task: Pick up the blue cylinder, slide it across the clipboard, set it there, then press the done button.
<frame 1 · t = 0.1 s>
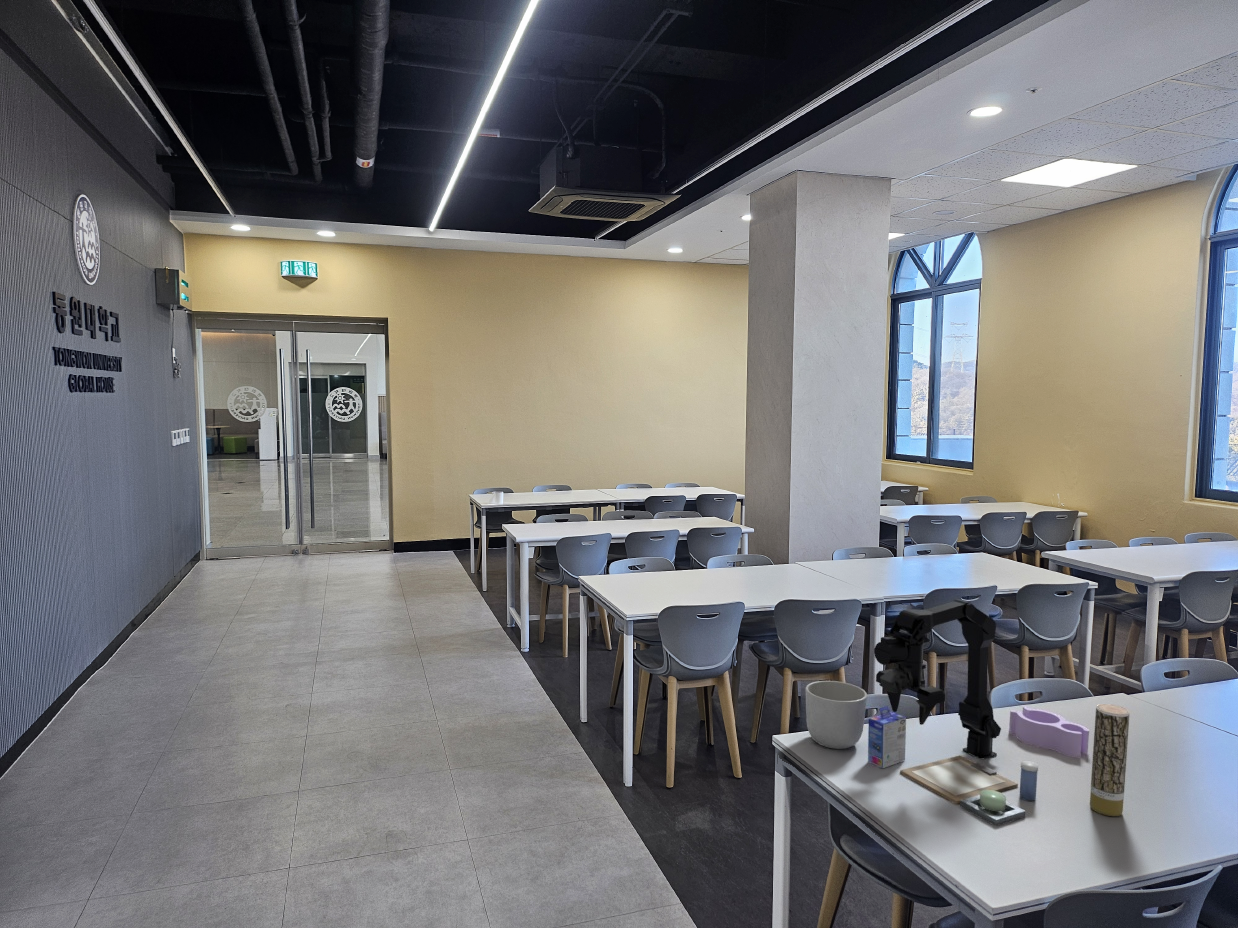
hand: (907, 717, 208), 15 cm above the table, fingers open, 9 cm apart
clipboard: (958, 779, 205), on the table
ink cartridge box: (885, 761, 216), on the table
clip: (1048, 743, 230), on the table
done button: (992, 800, 189), point 3 cm above the table, slide at 0.0 cm
paper tube: (1105, 811, 191), on the table
button bezel: (992, 811, 189), on the table
blue cylinder: (1027, 797, 196), on the table
planter: (833, 743, 227), on the table
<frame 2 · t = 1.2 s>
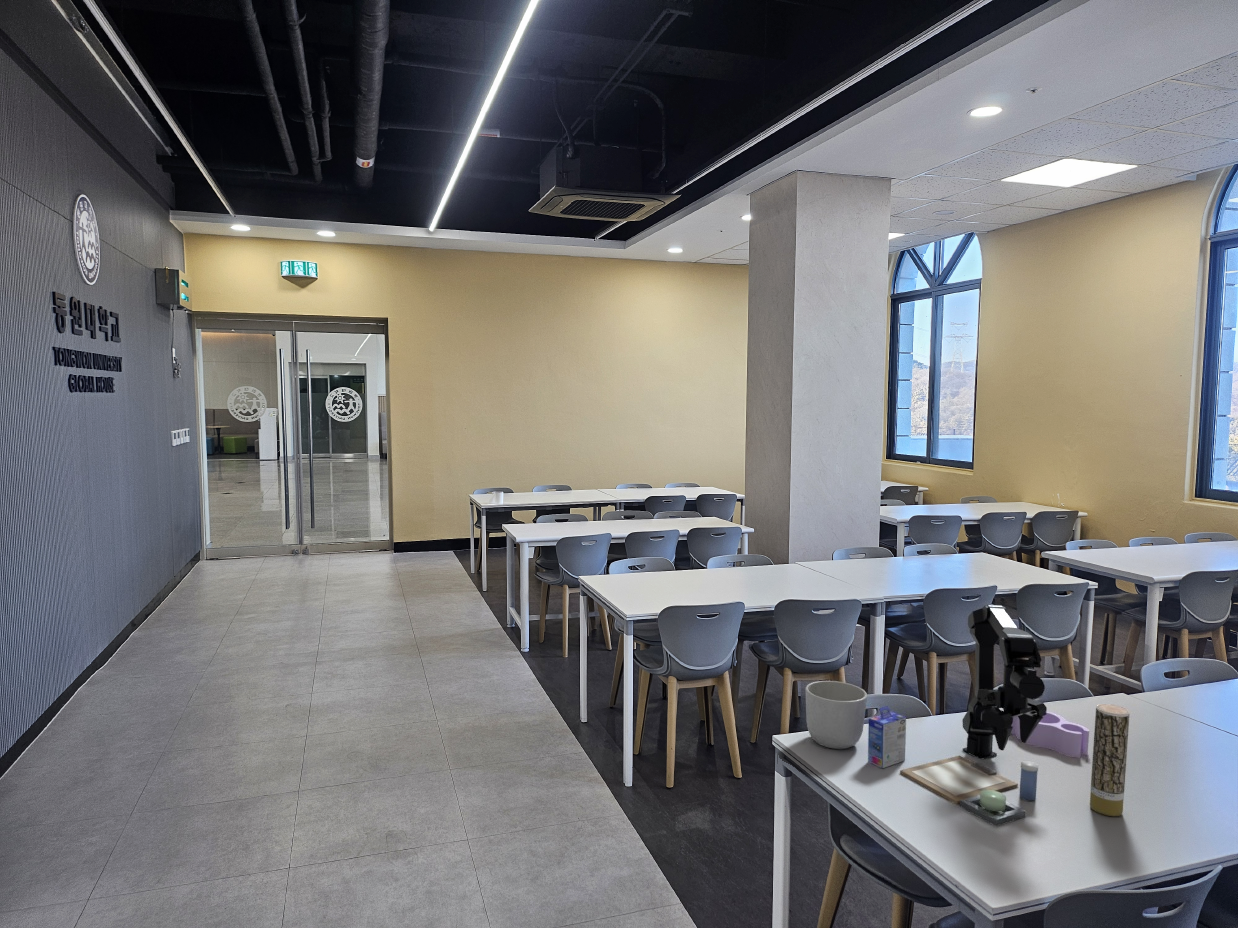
hand: (1012, 745, 197), 12 cm above the table, fingers open, 9 cm apart
nothing on the table moved.
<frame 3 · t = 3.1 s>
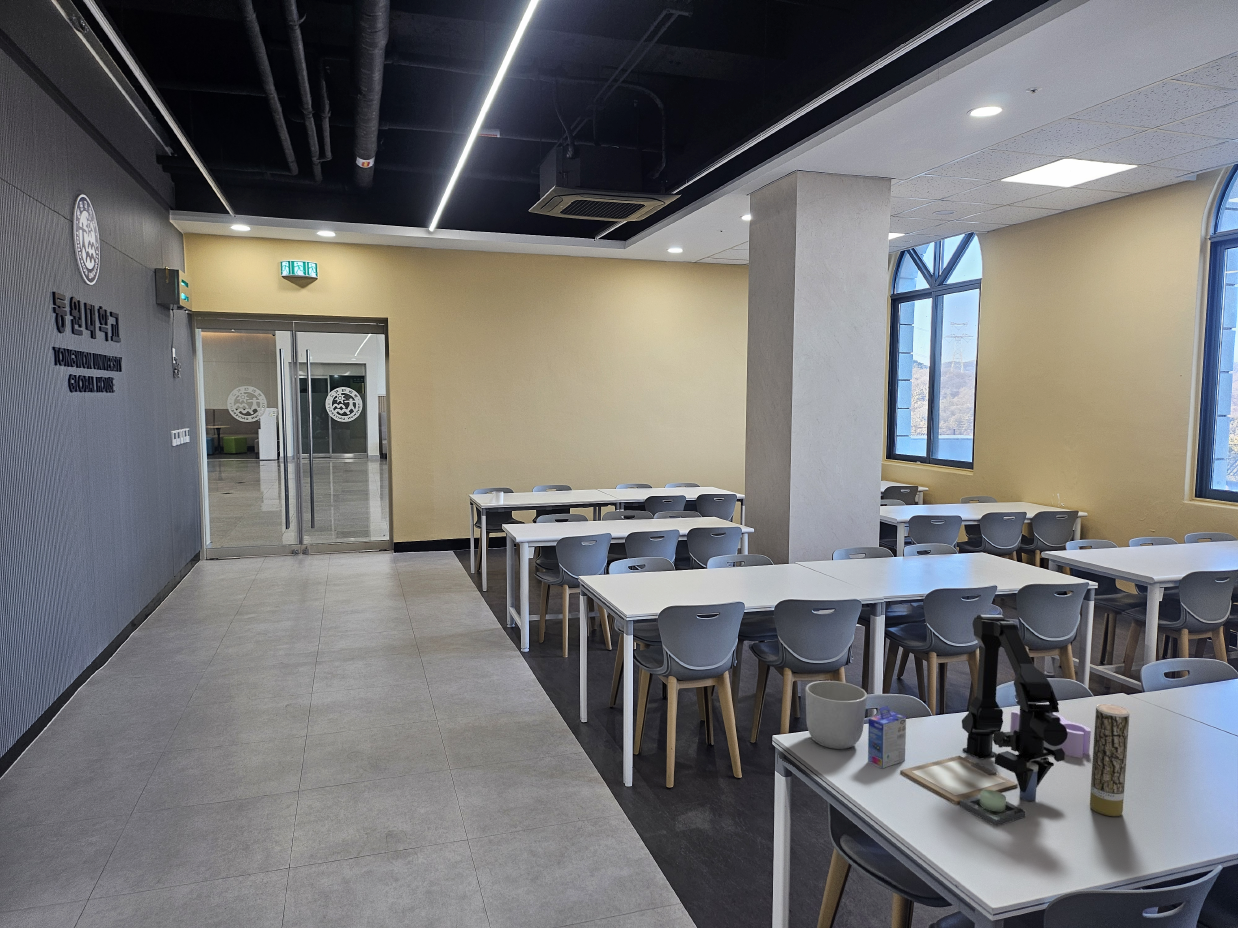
hand: (1027, 789, 196), 2 cm above the table, fingers closed on blue cylinder, 4 cm apart
blue cylinder: (1027, 797, 196), on the table, touching gripper
everything else where it was.
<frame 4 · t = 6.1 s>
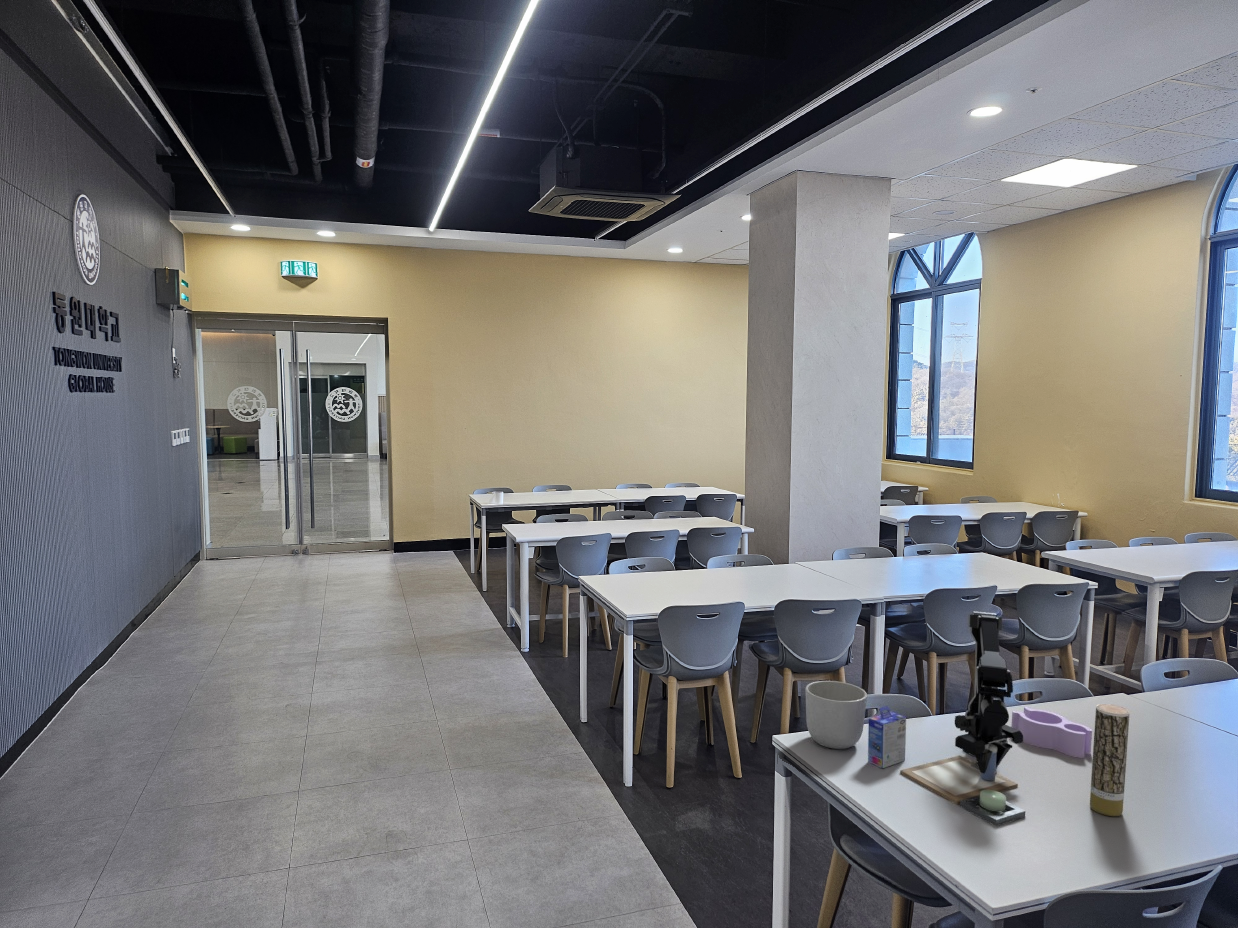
hand: (987, 771, 204), 3 cm above the table, fingers closed on blue cylinder, 4 cm apart
blue cylinder: (987, 778, 204), point 1 cm above the table, touching clipboard, gripper
everything else where it was.
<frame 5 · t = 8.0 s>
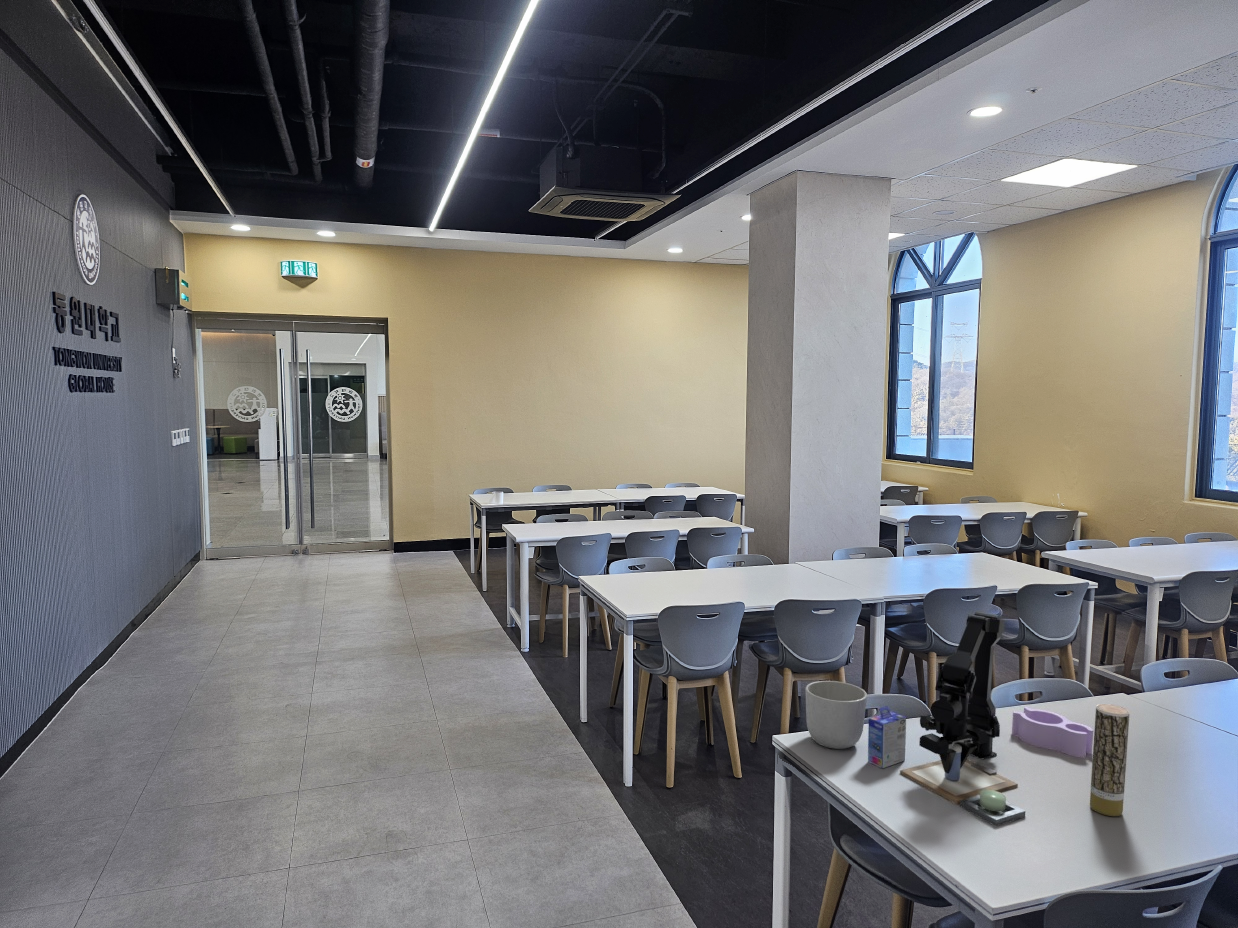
hand: (952, 771, 204), 3 cm above the table, fingers closed on blue cylinder, 4 cm apart
blue cylinder: (952, 778, 204), point 1 cm above the table, touching gripper
everything else where it was.
when the fingers open (3 cm above the table, at t = 9.1 s): blue cylinder stays where it is, resting on clipboard.
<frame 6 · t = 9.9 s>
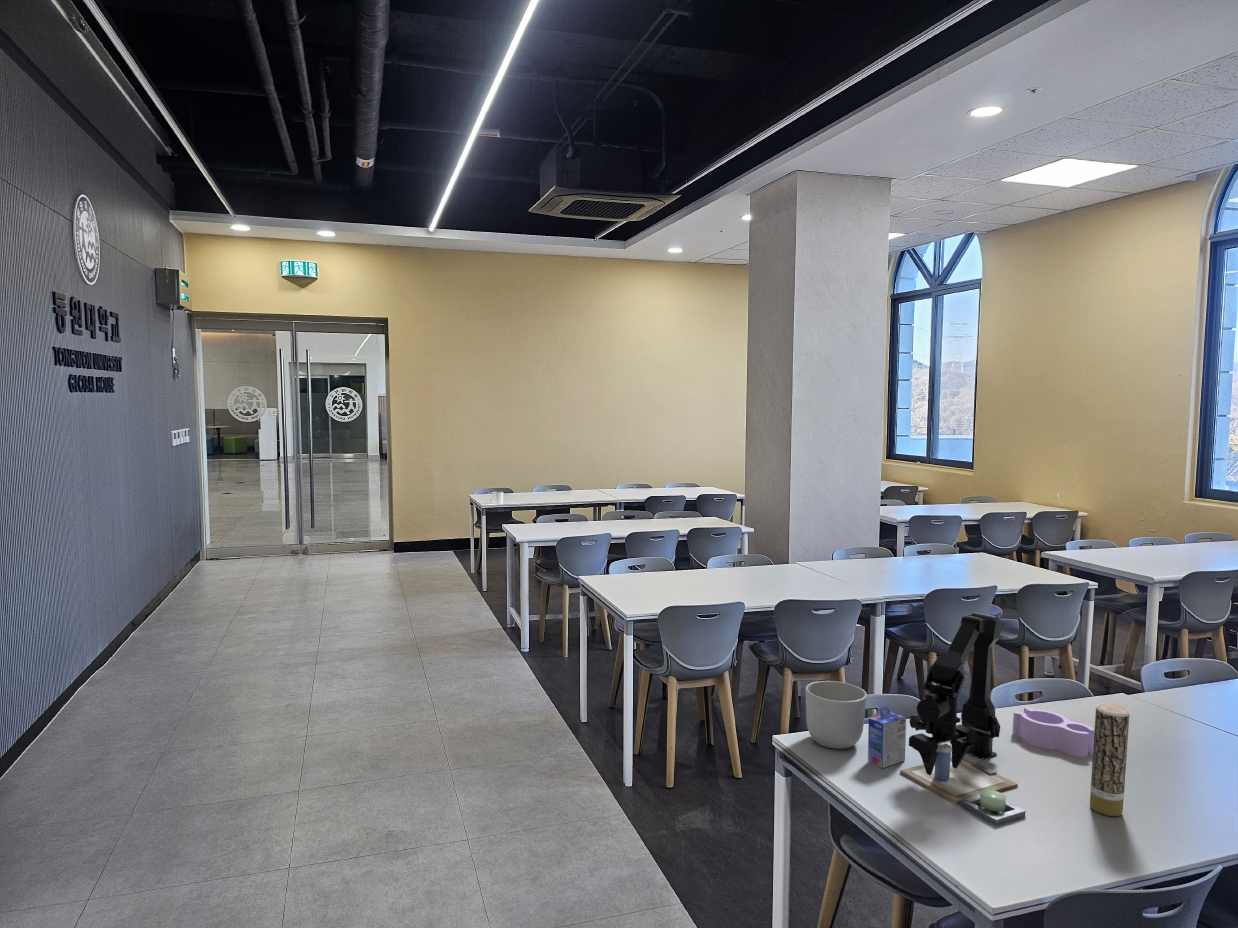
hand: (941, 770, 204), 3 cm above the table, fingers open, 9 cm apart
blue cylinder: (941, 778, 204), point 1 cm above the table, touching clipboard
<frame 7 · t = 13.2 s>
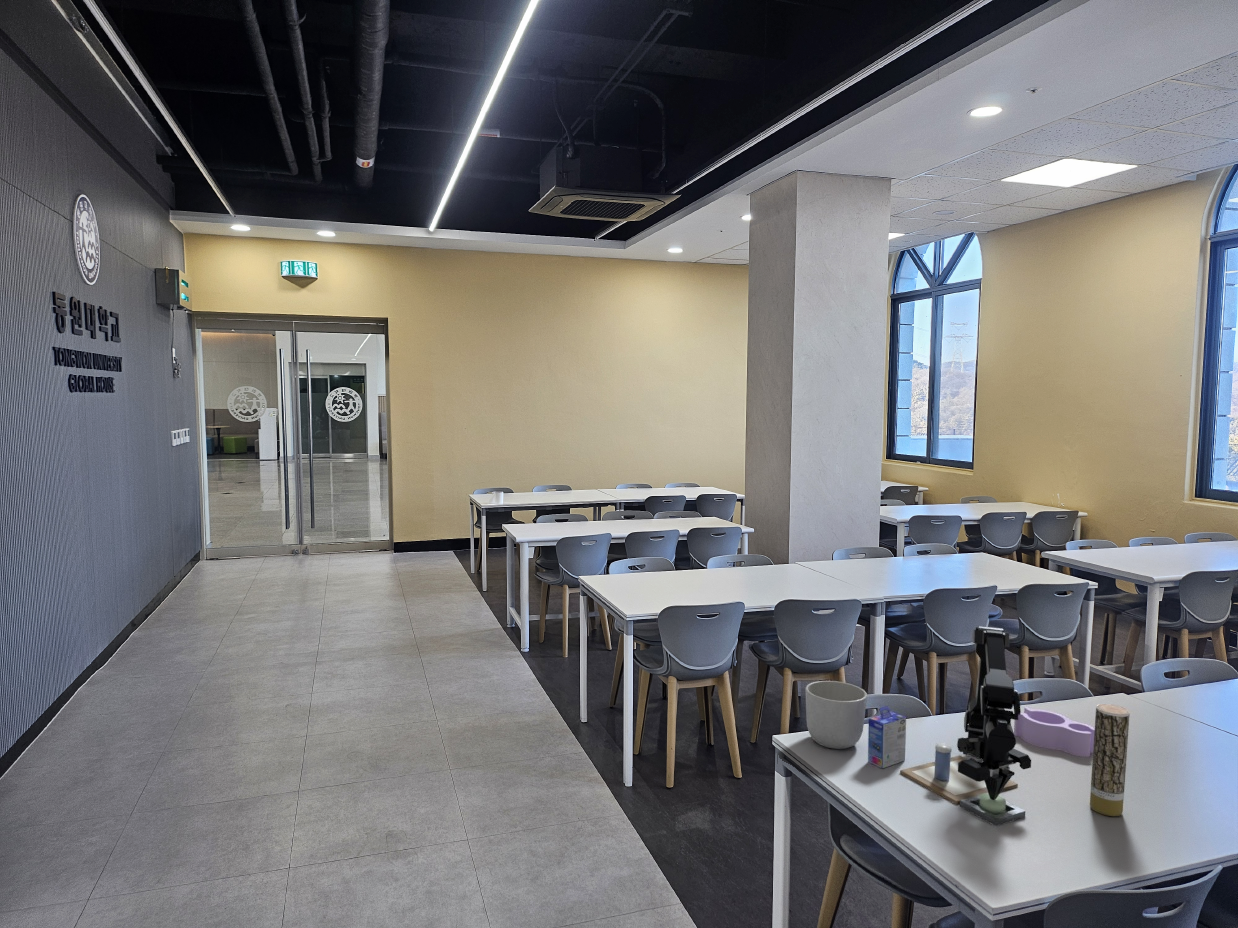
hand: (992, 798, 189), 3 cm above the table, fingers closed, pressing on done button
done button: (992, 803, 189), point 2 cm above the table, slide at 0.9 cm, touching gripper
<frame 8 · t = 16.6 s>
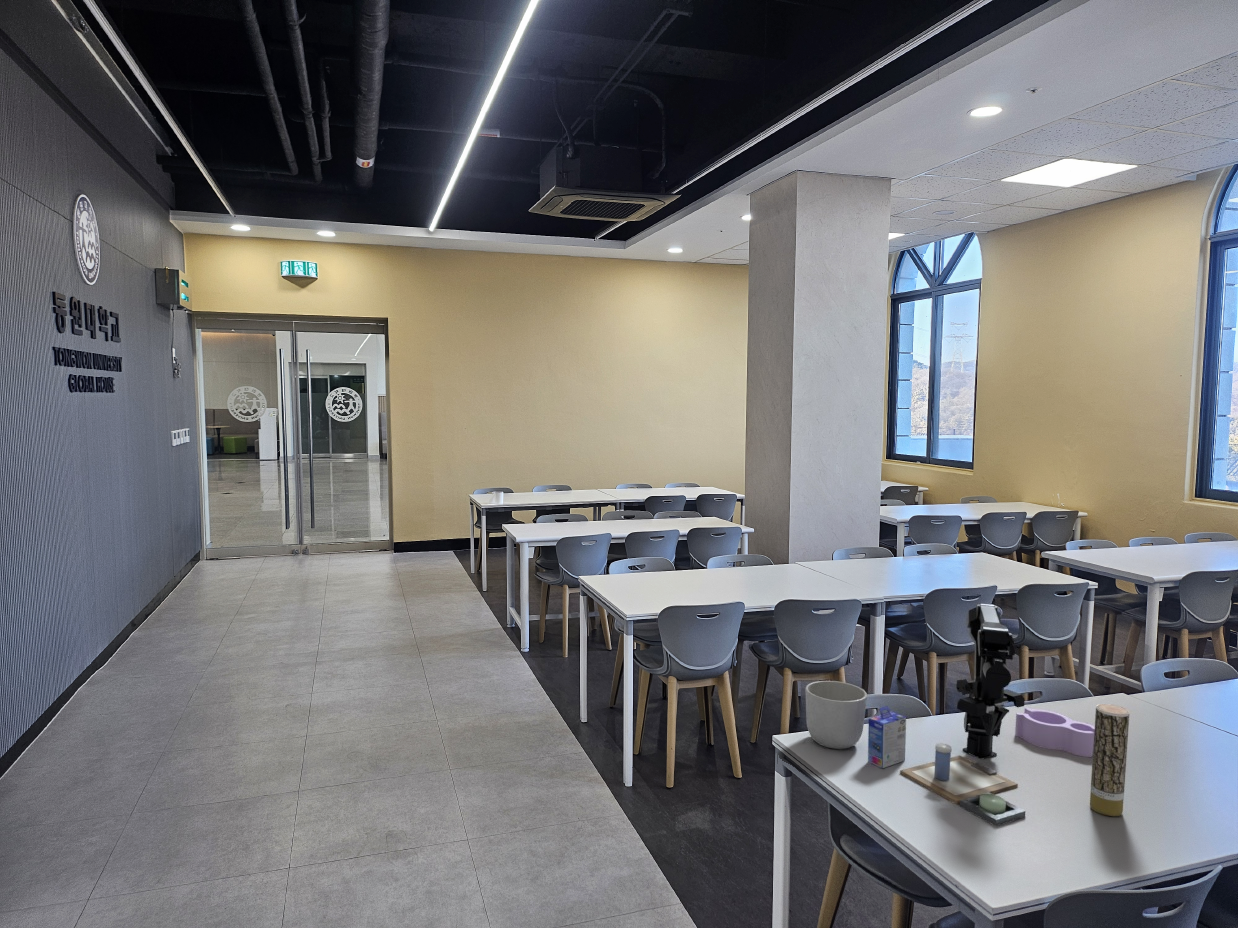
hand: (989, 734, 205), 12 cm above the table, fingers closed
done button: (992, 804, 189), point 2 cm above the table, slide at 1.0 cm
at the end: blue cylinder inside the target area on the clipboard (5.0 cm from its centre), point 0.9 cm above the clipboard's base; blue cylinder touching clipboard; done button slide at 1.0 cm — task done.
